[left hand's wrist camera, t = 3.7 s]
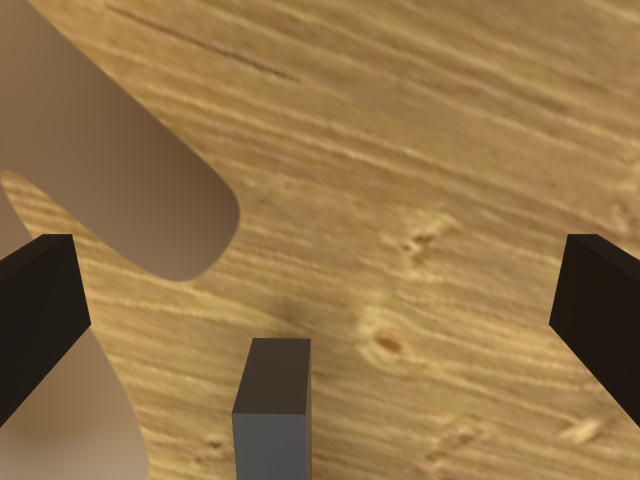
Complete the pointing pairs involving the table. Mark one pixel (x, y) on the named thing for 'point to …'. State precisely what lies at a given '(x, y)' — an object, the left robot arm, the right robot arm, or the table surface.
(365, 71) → the table surface
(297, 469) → the bar
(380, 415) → the table surface
